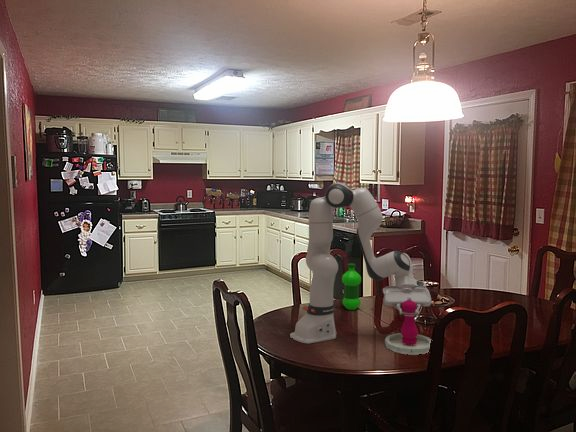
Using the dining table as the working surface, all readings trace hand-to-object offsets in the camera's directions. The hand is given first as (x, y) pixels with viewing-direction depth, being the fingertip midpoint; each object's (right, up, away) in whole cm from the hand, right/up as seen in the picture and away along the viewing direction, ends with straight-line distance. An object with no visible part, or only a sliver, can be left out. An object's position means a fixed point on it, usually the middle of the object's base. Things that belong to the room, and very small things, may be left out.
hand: (409, 314), depth 210 cm
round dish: (0, -14, +1) cm, 14 cm away
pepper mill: (0, -13, +1) cm, 13 cm away
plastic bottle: (-17, -9, +59) cm, 62 cm away
